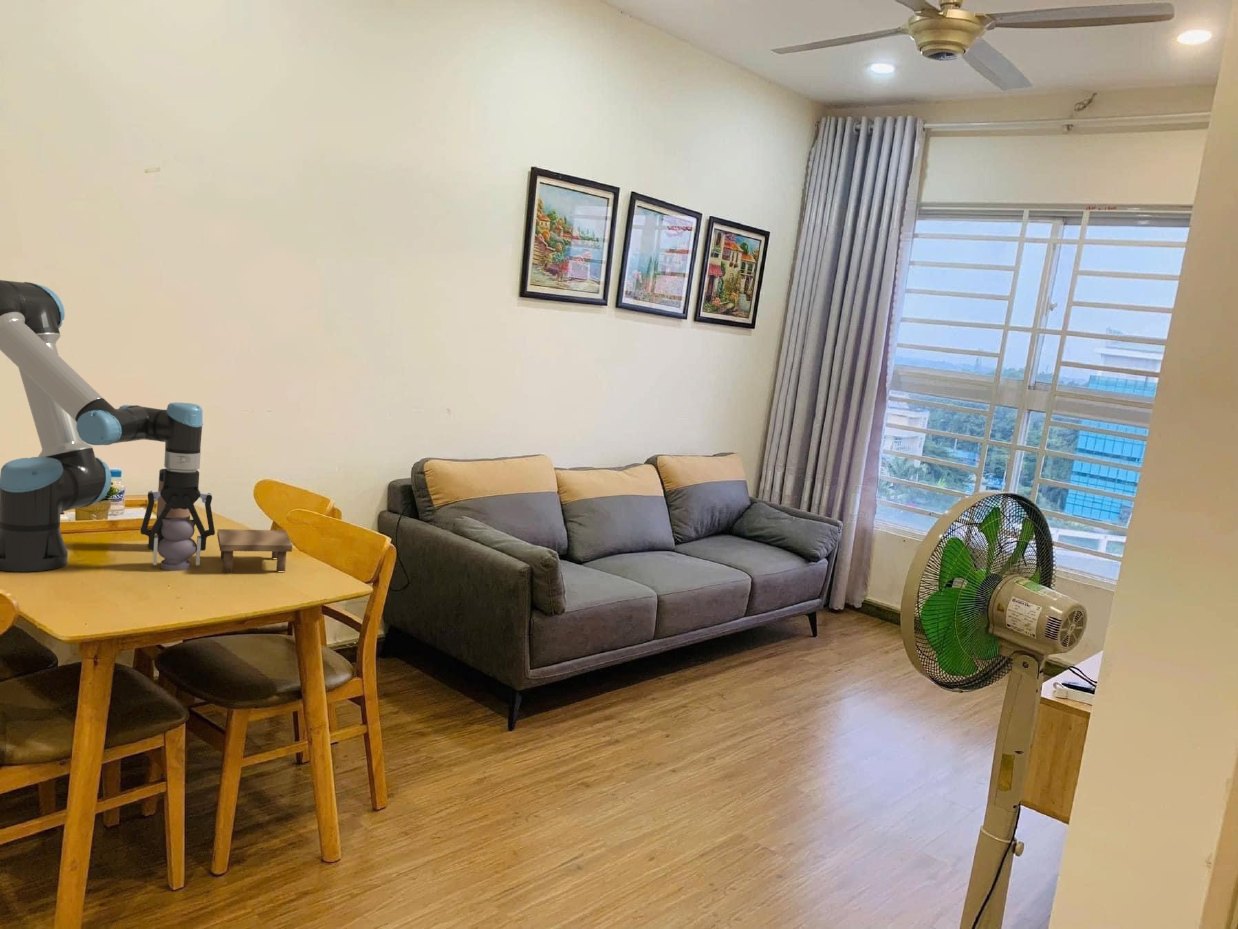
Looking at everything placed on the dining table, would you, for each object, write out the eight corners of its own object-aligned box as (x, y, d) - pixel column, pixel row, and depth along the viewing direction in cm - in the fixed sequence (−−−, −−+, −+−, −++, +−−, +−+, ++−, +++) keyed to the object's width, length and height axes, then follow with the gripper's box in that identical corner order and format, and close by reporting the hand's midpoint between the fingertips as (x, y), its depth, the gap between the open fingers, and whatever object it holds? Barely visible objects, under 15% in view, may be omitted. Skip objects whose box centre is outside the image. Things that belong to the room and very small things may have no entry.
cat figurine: (191, 561, 221) (194, 513, 220) (199, 570, 215) (202, 520, 214) (152, 563, 216) (155, 514, 214) (159, 572, 210) (162, 521, 208)
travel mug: (194, 547, 235) (199, 470, 232) (177, 553, 227) (181, 474, 224) (166, 543, 235) (170, 467, 233) (148, 549, 228) (152, 470, 225)
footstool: (218, 573, 214) (220, 544, 213) (215, 556, 228) (217, 529, 228) (290, 573, 221) (292, 545, 221) (283, 556, 236) (285, 530, 235)
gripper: (129, 470, 205) (124, 567, 207) (231, 474, 214) (225, 567, 217) (131, 464, 211) (126, 559, 214) (230, 468, 221) (224, 559, 224)
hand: (176, 563), depth 215 cm, fingers closed on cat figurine, 8 cm apart
